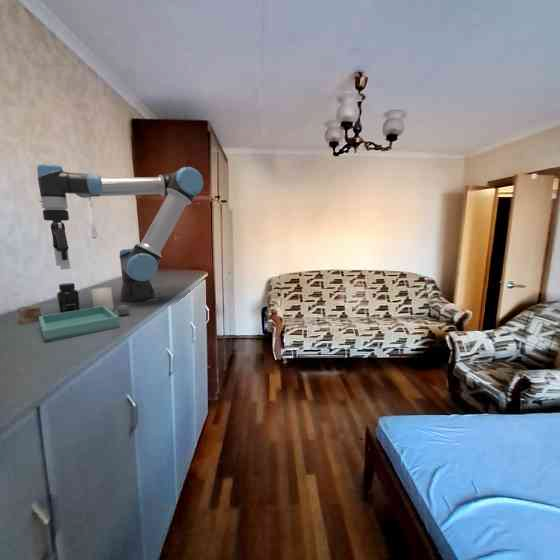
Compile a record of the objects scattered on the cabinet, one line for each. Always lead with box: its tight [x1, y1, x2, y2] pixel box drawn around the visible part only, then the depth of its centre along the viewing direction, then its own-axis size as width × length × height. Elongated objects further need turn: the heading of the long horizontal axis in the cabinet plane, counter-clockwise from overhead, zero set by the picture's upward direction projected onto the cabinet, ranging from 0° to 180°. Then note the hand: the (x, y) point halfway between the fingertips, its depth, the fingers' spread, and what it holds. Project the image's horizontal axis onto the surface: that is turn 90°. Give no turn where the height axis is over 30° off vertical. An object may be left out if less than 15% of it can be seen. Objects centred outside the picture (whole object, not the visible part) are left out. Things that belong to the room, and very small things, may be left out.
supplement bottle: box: [56, 282, 81, 313], centre depth 117 cm, size 7×7×12 cm
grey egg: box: [117, 304, 130, 316], centre depth 115 cm, size 4×4×4 cm
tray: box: [38, 306, 120, 343], centre depth 103 cm, size 20×20×4 cm
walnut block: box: [17, 305, 42, 325], centre depth 110 cm, size 5×5×5 cm
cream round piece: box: [90, 286, 115, 312], centre depth 122 cm, size 7×7×9 cm
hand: (63, 267), depth 114 cm, fingers open, 13 cm apart
